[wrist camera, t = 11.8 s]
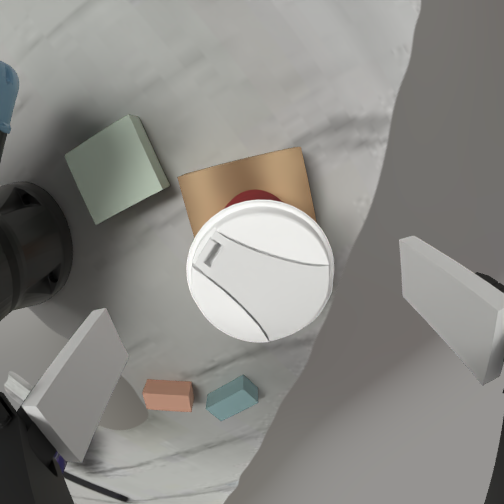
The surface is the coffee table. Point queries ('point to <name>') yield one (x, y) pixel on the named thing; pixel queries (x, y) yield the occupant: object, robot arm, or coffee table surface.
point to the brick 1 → (168, 395)
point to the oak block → (246, 184)
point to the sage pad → (116, 168)
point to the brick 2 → (232, 398)
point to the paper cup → (260, 268)
